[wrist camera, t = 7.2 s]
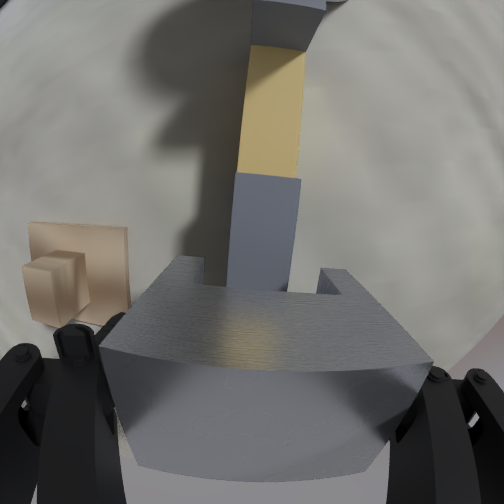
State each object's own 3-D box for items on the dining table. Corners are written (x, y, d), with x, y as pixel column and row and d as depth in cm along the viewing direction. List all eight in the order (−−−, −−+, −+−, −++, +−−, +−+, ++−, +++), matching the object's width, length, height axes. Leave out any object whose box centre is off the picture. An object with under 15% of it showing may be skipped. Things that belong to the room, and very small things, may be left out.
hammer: (252, 50, 14) (255, -22, 7) (296, 55, 14) (325, -11, 7) (227, 317, 19) (217, 395, 12) (269, 321, 19) (279, 399, 12)
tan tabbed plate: (32, 221, 17) (-8, 234, 12) (127, 227, 17) (90, 244, 13) (43, 307, 19) (12, 331, 14) (133, 327, 19) (108, 364, 15)
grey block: (177, 255, 11) (98, 345, 5) (346, 269, 12) (433, 361, 5) (178, 350, 13) (138, 465, 6) (323, 360, 13) (364, 471, 6)
